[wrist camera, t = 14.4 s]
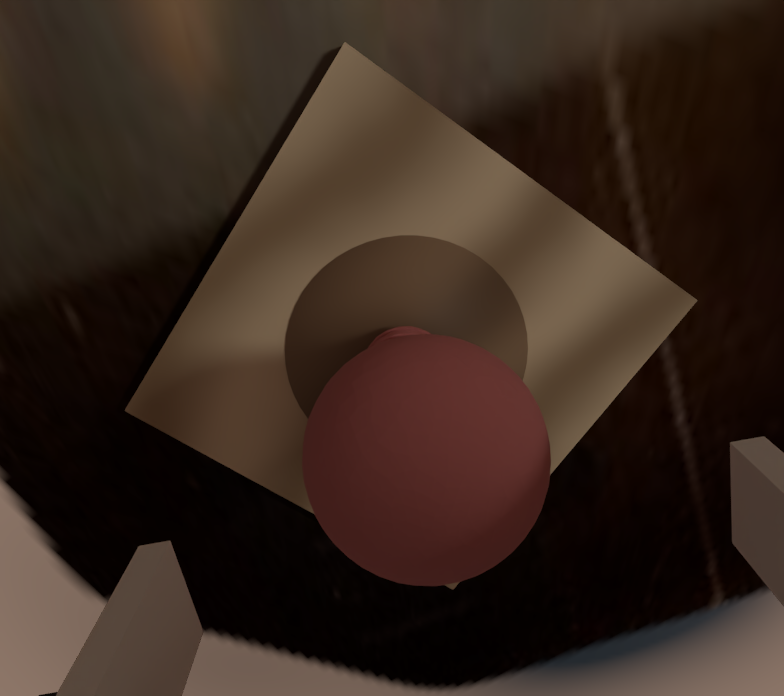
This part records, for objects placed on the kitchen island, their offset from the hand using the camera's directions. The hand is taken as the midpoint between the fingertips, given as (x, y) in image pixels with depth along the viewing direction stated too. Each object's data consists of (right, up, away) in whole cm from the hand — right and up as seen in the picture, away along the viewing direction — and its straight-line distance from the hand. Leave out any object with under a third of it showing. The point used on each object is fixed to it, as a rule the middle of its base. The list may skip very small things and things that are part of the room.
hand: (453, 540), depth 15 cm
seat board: (-1, +4, +13) cm, 13 cm away
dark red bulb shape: (-1, +4, +12) cm, 13 cm away
